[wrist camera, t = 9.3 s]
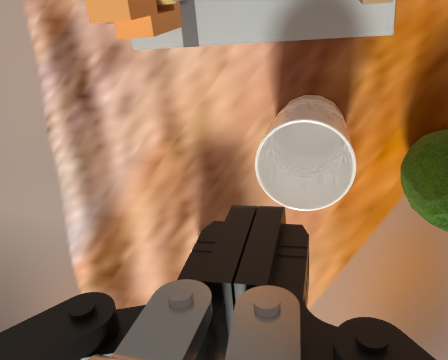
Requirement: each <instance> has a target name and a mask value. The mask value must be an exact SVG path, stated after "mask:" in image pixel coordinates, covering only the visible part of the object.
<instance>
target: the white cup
mask: <svg viewBox="0 0 448 360" xmlns="http://www.w3.org/2000/svg"><path fill="white" fill-rule="evenodd" d="M255 172H256V176H257V179H258V181H259V183H260V185H261V187H262V189H263V190H264V191H265V192H266V194H267V195H268V196H269V197H270V198H272V199H273V200H274V201H276V202H277V203H279V204H281V205H283V206H285V207H287V208H290V209H294V210H300V211H312V210H318V209H322V208H325V207H328V206H330V205H332V204H334V203H335V202H337V201H338V200H340V199H341V198H342V197H343V196H344V195H345V194H346V193H347V191H348V190H349V188H350V187H351V185H352V183H353V181H354V178H355V174H356V158H355V153H354V149H353V145H352V141H351V137H350V134H349V131H348V127H347V125H346V122H345V120H344V116H343V114H342V113H341V111H340V110H339V109H338V107H337V106H336V104H335V103H334V102H332V101H330V100H328V99H326V98H324V97H323V96H320V95H303V96H300V97H298V98H295V99H293V100H290V101H289V102H288V103H287V104H286V106H285V107H284V108H283V109H282V110H281V111H280V112H279V114H278V115H277V116H276V118H275V119H274V121H273V122H272V124H271V125H270V127H269V129H268V131H267V132H266V134H265V136H264V138H263V140H262V141H261V143H260V145H259V147H258V149H257V152H256V156H255Z"/></svg>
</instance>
